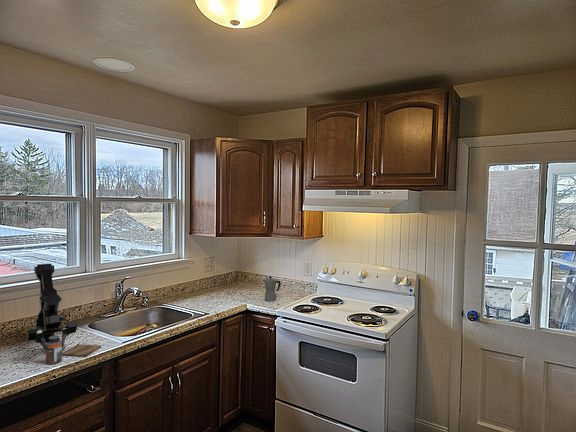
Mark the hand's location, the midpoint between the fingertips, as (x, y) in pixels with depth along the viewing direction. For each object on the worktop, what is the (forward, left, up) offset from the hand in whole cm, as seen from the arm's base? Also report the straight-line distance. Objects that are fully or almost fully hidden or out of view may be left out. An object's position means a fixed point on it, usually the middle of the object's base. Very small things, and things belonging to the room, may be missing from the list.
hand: (54, 348), depth 164 cm
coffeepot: (+79, +124, -7) cm, 147 cm away
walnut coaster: (+3, +14, -7) cm, 16 cm away
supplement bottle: (-1, +1, -7) cm, 7 cm away
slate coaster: (-12, +15, -7) cm, 20 cm away
